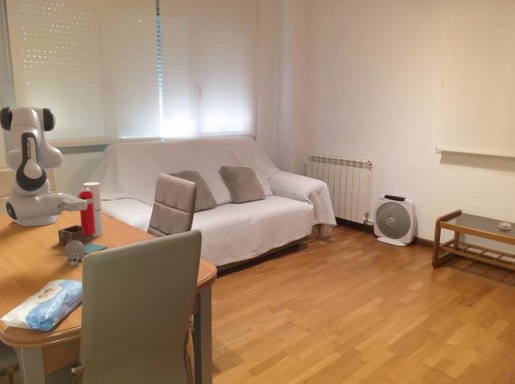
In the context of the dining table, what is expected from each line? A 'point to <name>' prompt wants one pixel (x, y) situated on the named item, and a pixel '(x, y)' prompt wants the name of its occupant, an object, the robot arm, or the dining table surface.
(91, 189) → the cylindrical container
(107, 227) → the dining table surface
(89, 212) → the red bottle
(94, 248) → the mat
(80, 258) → the grey animal figurine
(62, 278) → the dining table surface
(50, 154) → the robot arm
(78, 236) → the brown open wooden box
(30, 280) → the dining table surface
